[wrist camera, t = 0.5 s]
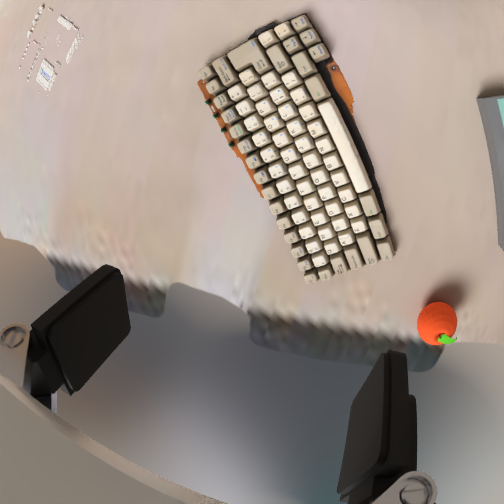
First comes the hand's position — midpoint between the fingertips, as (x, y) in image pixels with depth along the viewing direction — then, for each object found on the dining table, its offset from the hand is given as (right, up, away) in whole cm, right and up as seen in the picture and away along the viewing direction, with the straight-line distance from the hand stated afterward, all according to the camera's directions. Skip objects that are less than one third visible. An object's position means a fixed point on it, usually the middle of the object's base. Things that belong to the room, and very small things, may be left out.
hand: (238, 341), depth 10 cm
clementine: (+31, -7, +35) cm, 48 cm away
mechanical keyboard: (+8, +17, +32) cm, 37 cm away
